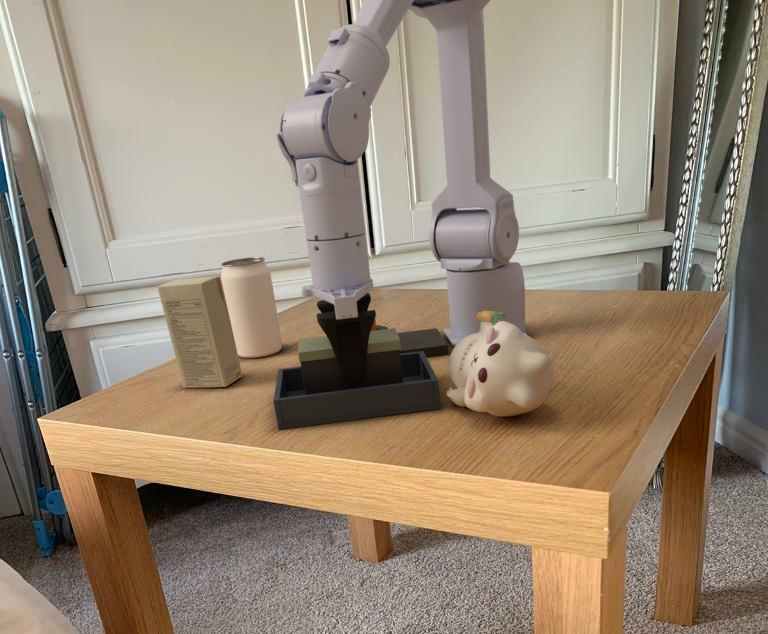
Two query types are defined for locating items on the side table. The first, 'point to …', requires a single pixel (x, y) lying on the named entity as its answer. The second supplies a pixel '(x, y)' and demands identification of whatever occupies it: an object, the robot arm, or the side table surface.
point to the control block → (422, 342)
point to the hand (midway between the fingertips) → (353, 373)
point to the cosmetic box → (200, 331)
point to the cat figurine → (499, 369)
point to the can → (251, 307)
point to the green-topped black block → (325, 371)
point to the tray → (356, 396)
